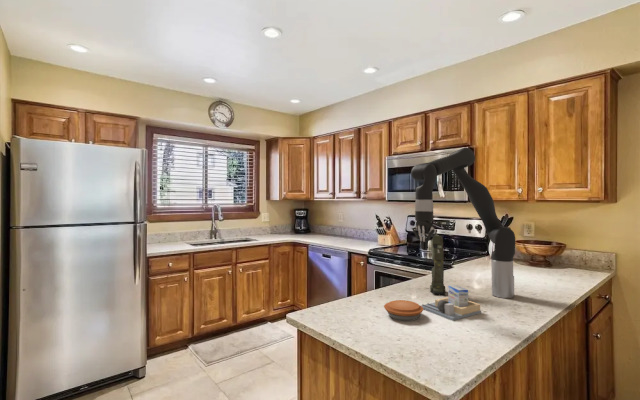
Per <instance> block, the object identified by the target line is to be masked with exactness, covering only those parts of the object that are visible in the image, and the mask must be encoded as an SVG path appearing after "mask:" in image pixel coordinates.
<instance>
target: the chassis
mask: <svg viewBox="0 0 640 400" xmlns="http://www.w3.org/2000/svg"><path fill="white" fill-rule="evenodd" d="M440 300H444V301H447V302H448V296H447V297H443V298H438V299H437V298H436V299H435V300H434V302H431V303H429V302H427V303H426V304H424V303H422V305H420V306H422V307H423V311H427V312H429V313H432V314H434V315H436V316H440V317H442V318H445V319H447V320H450V321H452V322H453V321H456V320H459V319H464V318H467V317H472V316H474V315H479V314H481V313H482V310H481V304H480V303H477V302H473V301H471V300H468V306H466V307H462V308H461V307H458V306H455V305H454V304H452V303H447V304H445V312H442V311H440V310H438V307H437V305H438V302H439V301H440Z"/></svg>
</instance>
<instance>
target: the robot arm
mask: <svg viewBox="0 0 640 400" xmlns="http://www.w3.org/2000/svg"><path fill="white" fill-rule="evenodd" d="M475 161H476V156H475V153H474V151H473V150H472V149H471V148H469V147H461V148H459V149H458V150H455V151H454V152H452V153H450V154H449V155H448V156H444V157H441V158H437V159H434V160H431V161H428V162H424V163H419V164H416V165H414V166H413V167H412V168H411V171H410V173H411V178H413V180H415V181H419V182H420V181H423V183H422V185H419V186H417V187H416V188H415V202H414V214H415V215H414V217H415V218H414V219H415V221H416V223H415V226H414V227H412V228H411V230H412V231H413V234H414V235H415V238H416V239H417V240H419V241H420V249H421V251H428V249H429V241H430V242H431V240H432V239H433V237H434V236H435V235H437V233H438V229H435V227H434V224H433V221H434V203H433V190H434V185H435V182H436V178H437V176H440V175H442V174H443V175H444V174H445V173H448V172H449V171H453V173H454V175H455V176H456V177H457V179H458V181H459V182H460V183H461V186H462V187H463V189H464V191H465V193H466V195H467V196H468V198H469V199H468V200H469V201H470V202H471V204H472V206H473V208H474V209H475V211H476V213H477V216H478V217H479V218H480V220H481V222H482V224H483V226H484V229H485V230H486V234H487V236H488V239H489V240H490V241H491V243H492V244H494V249H493V252H491V260H490V261H491V263H490V264H491V295H492V296H494V297H497V298H503V299H511V298H512V299H513V298H514V297H515V276H514V257H515V255H516V235H515V233H514V231H513V230H512V229H511V228H510V227H506V226H504V225H503V224H502V222H501V221H500V219H499V218H498V215H497V213H496V208H495V207H496V206H495V202H494V199H493V196H492V195H491V192H490V191H489V189H488V188H487V186H485V185H484V184H483V183H481V182H479V181H478V180H476V179H474V178H473V177H472V176H470V174H469V173H468V172H467V171H466V168H467V167H469V166H472V165H473V164H474V163H475Z"/></svg>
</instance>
